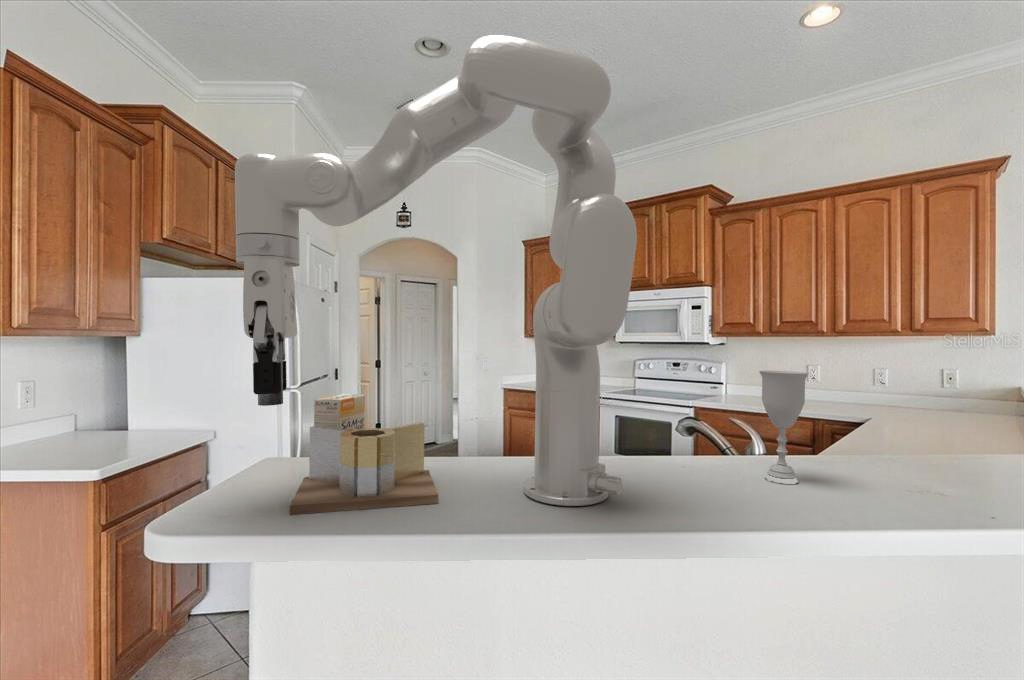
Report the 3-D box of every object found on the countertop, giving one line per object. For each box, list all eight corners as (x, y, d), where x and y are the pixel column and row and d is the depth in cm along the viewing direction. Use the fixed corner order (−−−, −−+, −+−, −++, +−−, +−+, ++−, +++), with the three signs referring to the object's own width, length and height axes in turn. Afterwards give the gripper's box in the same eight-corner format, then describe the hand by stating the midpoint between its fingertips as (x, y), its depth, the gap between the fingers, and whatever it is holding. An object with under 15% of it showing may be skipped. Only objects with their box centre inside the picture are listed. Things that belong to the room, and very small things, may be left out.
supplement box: (339, 483, 78) (340, 399, 77) (312, 480, 78) (312, 398, 78) (365, 469, 86) (366, 393, 86) (340, 467, 87) (340, 392, 86)
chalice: (807, 479, 83) (809, 372, 83) (806, 489, 77) (808, 374, 77) (759, 472, 87) (761, 369, 87) (754, 481, 81) (756, 372, 81)
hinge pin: (293, 403, 66) (291, 325, 66) (262, 407, 63) (261, 325, 63) (277, 401, 68) (276, 325, 68) (248, 404, 65) (246, 325, 65)
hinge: (430, 492, 70) (431, 435, 70) (299, 501, 65) (299, 441, 65) (423, 471, 80) (423, 422, 80) (310, 478, 76) (310, 425, 76)
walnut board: (437, 503, 69) (438, 494, 69) (289, 514, 64) (289, 505, 64) (428, 477, 81) (428, 469, 81) (304, 484, 76) (304, 477, 76)
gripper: (288, 243, 58) (291, 398, 59) (307, 262, 74) (309, 385, 74) (217, 240, 56) (220, 401, 57) (252, 261, 72) (254, 386, 72)
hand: (270, 390), depth 65 cm, fingers closed on hinge pin, 3 cm apart
